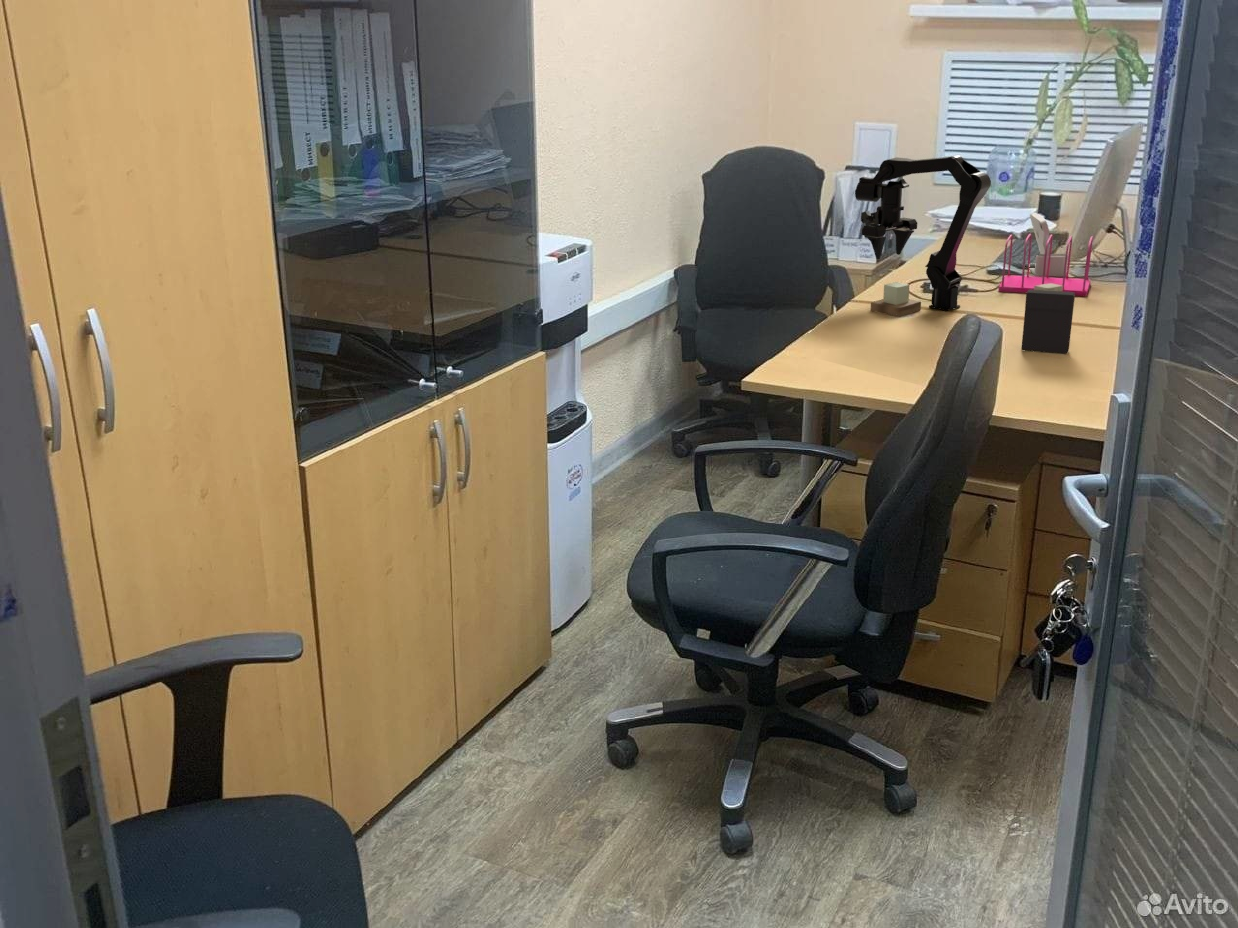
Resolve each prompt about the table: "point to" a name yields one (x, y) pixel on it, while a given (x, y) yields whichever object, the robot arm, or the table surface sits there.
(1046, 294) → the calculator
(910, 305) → the walnut block
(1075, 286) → the file sorter
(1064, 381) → the table surface
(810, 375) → the table surface
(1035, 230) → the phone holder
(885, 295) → the sage cube
